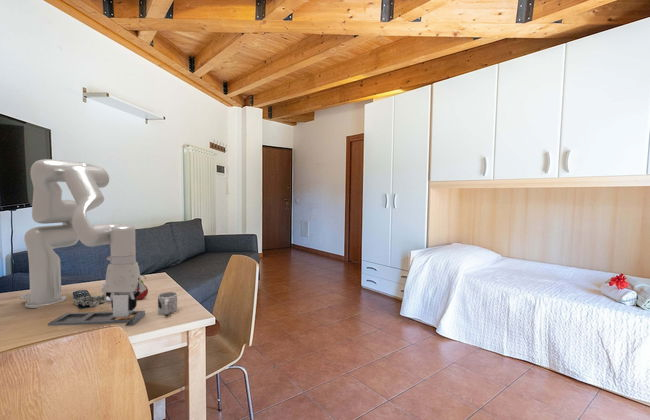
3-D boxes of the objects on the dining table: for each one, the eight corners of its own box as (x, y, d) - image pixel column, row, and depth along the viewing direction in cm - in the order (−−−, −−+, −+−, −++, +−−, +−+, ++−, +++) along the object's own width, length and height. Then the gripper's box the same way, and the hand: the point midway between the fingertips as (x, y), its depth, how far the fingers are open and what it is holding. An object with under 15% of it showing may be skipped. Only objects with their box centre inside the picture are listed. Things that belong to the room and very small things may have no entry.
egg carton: (109, 304, 129) (109, 294, 129) (92, 310, 122) (92, 300, 122) (89, 301, 132) (89, 291, 131) (71, 307, 124) (70, 297, 124)
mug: (159, 309, 124) (159, 293, 124) (177, 307, 126) (177, 291, 126) (155, 319, 115) (155, 301, 114) (175, 316, 117) (175, 299, 117)
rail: (48, 328, 105) (47, 323, 105) (66, 317, 114) (66, 313, 114) (133, 325, 109) (133, 320, 109) (144, 314, 118) (144, 310, 118)
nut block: (113, 317, 110) (112, 295, 109) (120, 311, 115) (119, 290, 114) (128, 316, 111) (128, 294, 110) (134, 311, 116) (134, 290, 115)
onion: (151, 298, 136) (150, 280, 135) (142, 303, 130) (141, 284, 130) (138, 297, 136) (138, 279, 136) (129, 302, 131) (128, 283, 130)
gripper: (91, 262, 107) (92, 314, 108) (144, 262, 109) (144, 312, 110) (103, 257, 114) (104, 306, 115) (153, 257, 116) (153, 304, 118)
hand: (124, 308), depth 113 cm, fingers closed on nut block, 4 cm apart
